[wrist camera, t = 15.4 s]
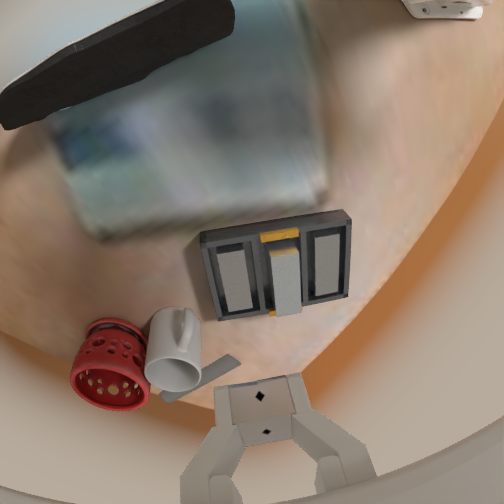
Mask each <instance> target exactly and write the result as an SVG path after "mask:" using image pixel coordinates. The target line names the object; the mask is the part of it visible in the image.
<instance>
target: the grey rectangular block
mask: <svg viewBox="0 0 504 504" xmlns="http://www.w3.org/2000/svg"><path fill="white" fill-rule="evenodd" d="M264 248H265V256H266V265H267V274H268V283H269V292H270V296H271V299H272V302H273V306H274V309H275V313H276V316H277V317H281V316H286V315H291V314H297V313H301V285H300V263H299V252H298V250H297V248H296V246H295V244H294V242H293V240H292V238H287V239H281V240H275V241H269V242H264Z"/></svg>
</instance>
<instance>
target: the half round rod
mask: <svg viewBox="0 0 504 504" xmlns="http://www.w3.org/2000/svg"><path fill="white" fill-rule="evenodd" d="M239 365H241V364H240V363H239V362H238V361H237V360H235V359H234V358H233V357H231V356H230V355H229V354H227V355H225V356H223V357H222V358H220V359H218V360H217V361H215V362H213V363H212V364H210V365H208V366H206V367H205V368H203V369H201V380H200V382H199V383H198V384H197V385H196V386H195V387H194V388H192V389H190V390H187V391H182V392H170V391H165V390H164V391H162V392H160V396H161V398H162V399H163V400H164V401H165V402H167V403H171V402H173V401H175V400H177V399H179V398H181V397H182V396H184V395H186V394H188V393H190V392H192V391H194V390H196V389H198V388H200V387H201V386H203V385H205V384H207V383H209V382H211V381H212V380H214V379H216V378H218V377H220V376H221V375H223V374H225V373H227V372H229V371H230V370H232V369H234V368H236V367H237V366H239Z"/></svg>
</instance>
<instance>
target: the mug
mask: <svg viewBox="0 0 504 504" xmlns="http://www.w3.org/2000/svg"><path fill="white" fill-rule="evenodd" d="M144 374H145V377H146V379H147V380H148V381H149V382H150V383H151V384H152V385H153V386H155V387H157V388H159V389H161V390H165V391H170V392H182V391H187V390H190V389H192V388H194V387H195V386H196V385H197V384H198V383H199V382H200V380H201V325H200V321H199V319H198V318H197V317H196V315H195V314H194V313H193V310H192V309H190V308H185V309H184V308H180V307H168V308H164V309H161V310H160V311H158V312H157V313H156V314H155V315H154V316H153V318H152V320H151V324H150V332H149V339H148V346H147V352H146V360H145V367H144Z"/></svg>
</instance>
